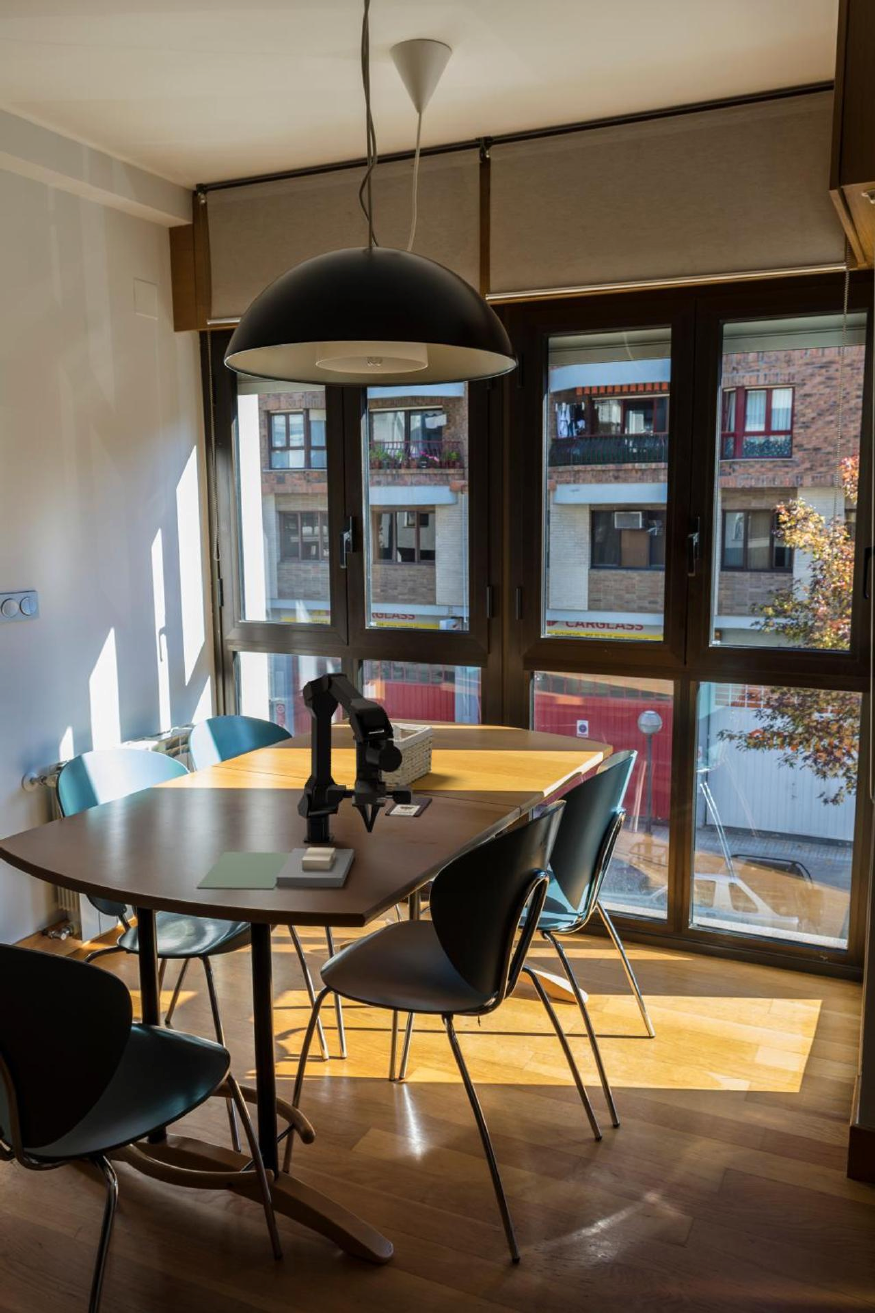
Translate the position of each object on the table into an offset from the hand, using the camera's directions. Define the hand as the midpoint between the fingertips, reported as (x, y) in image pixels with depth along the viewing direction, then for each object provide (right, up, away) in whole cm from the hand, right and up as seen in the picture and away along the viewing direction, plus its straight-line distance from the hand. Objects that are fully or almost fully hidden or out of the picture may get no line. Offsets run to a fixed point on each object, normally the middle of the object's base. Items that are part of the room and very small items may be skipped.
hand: (369, 832), depth 234 cm
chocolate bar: (+7, -3, +54) cm, 55 cm away
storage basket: (+2, +2, +87) cm, 87 cm away
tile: (-11, -7, +1) cm, 13 cm away
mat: (-27, -9, +2) cm, 29 cm away
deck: (-12, -9, +2) cm, 15 cm away
